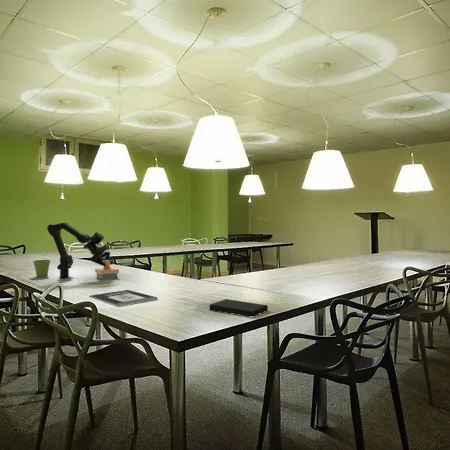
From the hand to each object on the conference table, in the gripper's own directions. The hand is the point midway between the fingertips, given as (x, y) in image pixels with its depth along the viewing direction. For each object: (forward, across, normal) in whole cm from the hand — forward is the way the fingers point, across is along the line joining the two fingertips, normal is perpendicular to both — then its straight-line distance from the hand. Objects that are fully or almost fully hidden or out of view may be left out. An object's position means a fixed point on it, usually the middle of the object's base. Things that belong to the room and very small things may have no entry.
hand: (108, 265), depth 268 cm
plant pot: (-31, +3, +45) cm, 55 cm away
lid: (+3, 0, +5) cm, 5 cm away
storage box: (+6, 0, +8) cm, 10 cm away
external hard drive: (+79, -70, -64) cm, 124 cm away
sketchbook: (+33, -55, -19) cm, 67 cm away
